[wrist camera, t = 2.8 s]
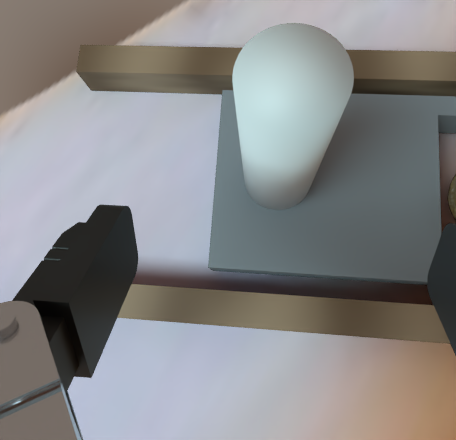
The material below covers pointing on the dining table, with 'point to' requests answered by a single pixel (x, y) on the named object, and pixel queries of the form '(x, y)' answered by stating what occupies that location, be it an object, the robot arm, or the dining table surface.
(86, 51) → the guide rails
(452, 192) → the sprinkles bottle
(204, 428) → the dining table surface
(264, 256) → the grey tray with post
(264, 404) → the dining table surface
